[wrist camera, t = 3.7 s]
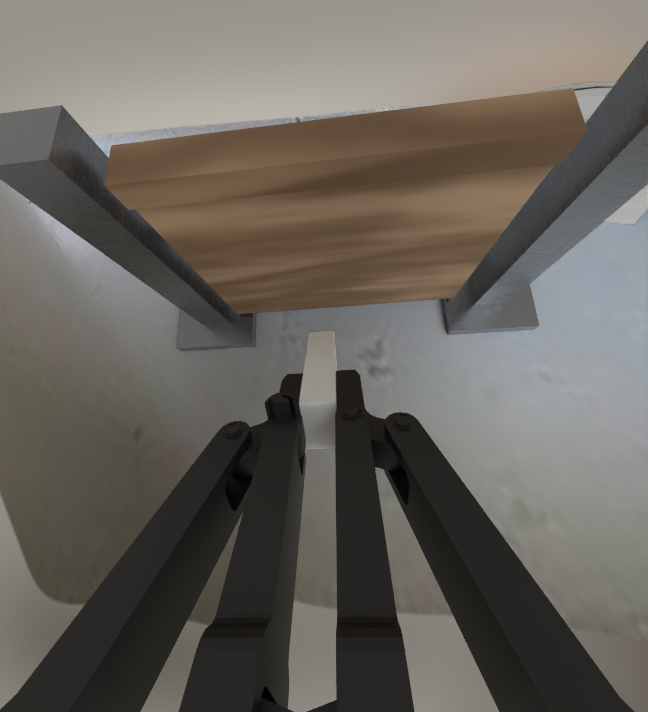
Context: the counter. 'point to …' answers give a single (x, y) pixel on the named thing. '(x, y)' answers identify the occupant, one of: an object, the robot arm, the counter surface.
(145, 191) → the gate leaf
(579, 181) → the gate frame
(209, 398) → the counter surface
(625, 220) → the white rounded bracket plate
